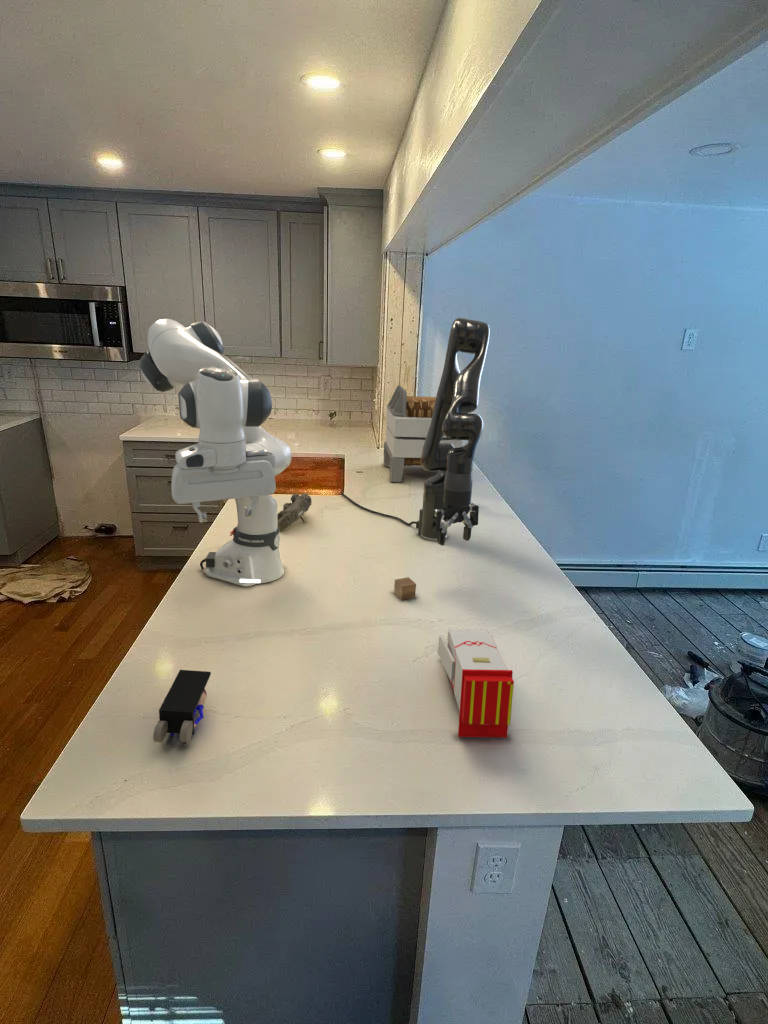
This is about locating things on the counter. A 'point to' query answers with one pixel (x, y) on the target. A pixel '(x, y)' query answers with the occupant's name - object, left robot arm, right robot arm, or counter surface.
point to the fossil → (293, 510)
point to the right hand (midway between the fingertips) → (453, 542)
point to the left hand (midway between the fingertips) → (226, 518)
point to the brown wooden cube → (405, 588)
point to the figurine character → (182, 706)
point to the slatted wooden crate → (407, 431)
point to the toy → (478, 682)
